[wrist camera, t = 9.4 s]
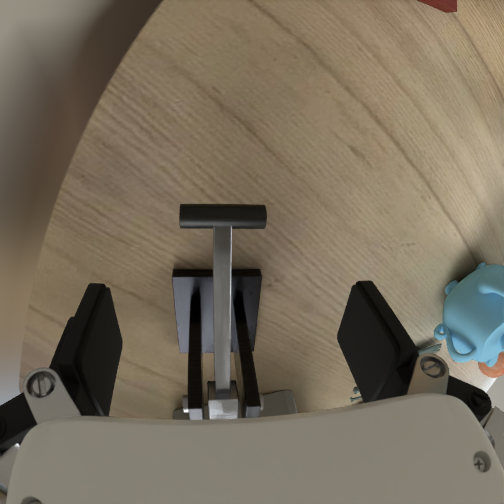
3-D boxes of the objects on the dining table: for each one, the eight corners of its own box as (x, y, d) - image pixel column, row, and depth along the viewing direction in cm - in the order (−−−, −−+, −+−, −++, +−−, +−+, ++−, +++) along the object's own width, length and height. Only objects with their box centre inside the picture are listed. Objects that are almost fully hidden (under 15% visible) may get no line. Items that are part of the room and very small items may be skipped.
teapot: (457, 330, 41) (495, 380, 32) (405, 318, 36) (451, 384, 27) (504, 264, 36) (551, 310, 26) (463, 234, 31) (527, 291, 21)
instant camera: (300, 445, 52) (317, 514, 39) (190, 457, 50) (194, 527, 37) (313, 384, 41) (343, 480, 28) (162, 399, 39) (159, 500, 26)
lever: (181, 202, 19) (178, 206, 17) (261, 202, 20) (268, 207, 18) (191, 406, 23) (191, 426, 21) (252, 404, 24) (256, 424, 22)
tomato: (513, 303, 41) (539, 332, 34) (508, 335, 46) (529, 361, 39) (470, 337, 42) (493, 371, 36) (469, 365, 48) (488, 395, 41)
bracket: (173, 269, 29) (159, 384, 18) (260, 269, 30) (289, 381, 19) (180, 344, 34) (177, 449, 23) (252, 343, 35) (270, 445, 24)
